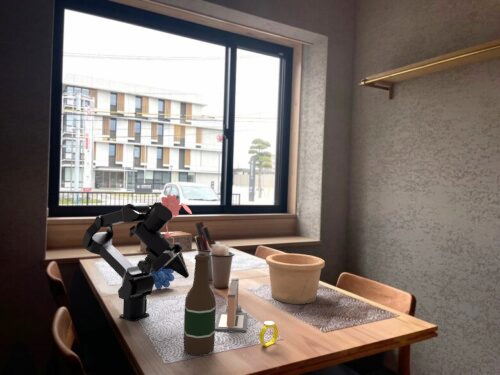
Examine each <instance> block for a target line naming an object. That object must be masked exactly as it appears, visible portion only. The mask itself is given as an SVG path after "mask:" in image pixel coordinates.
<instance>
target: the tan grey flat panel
mask: <svg viewBox="0 0 500 375" xmlns="http://www.w3.org/2000/svg"><path fill="white" fill-rule="evenodd" d="M229 284H230V285H229V288H228V292H227V305H226V307H227V311H226V312H227V326H234V322H235V316H236V310H237V307H238V305H239V278H237V277H233V278H231V280H230V283H229Z"/></svg>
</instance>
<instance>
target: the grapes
mask: <svg viewBox="0 0 500 375" xmlns="http://www.w3.org/2000/svg"><path fill="white" fill-rule="evenodd" d="M164 267H165V265H164V266H163V267H161V268H160V269H159V270H158V271H157V272H156V273H155V272H154V271H153V272H151V274H152V276H153V278H154V288H156V289H157V290H161V289H163V287H164V288H166V289H167V288H169V287H170V286H171V283H172V282H173V281H175V275H174V274H173V273H174V272H175V271H173V270H171V269H163V268H164ZM170 282H171V283H170Z"/></svg>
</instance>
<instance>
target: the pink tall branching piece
mask: <svg viewBox="0 0 500 375" xmlns="http://www.w3.org/2000/svg"><path fill="white" fill-rule="evenodd" d="M166 196H167V197H166ZM166 196H161V198H160V199H161V203H162V205H164V206H166V207H167V208H168V209H169V210H171V212H172V219H175V218H176V217H178V216H179V214H180V213H179V211H181V208H182V207H183V209H184V210H185V212H187V213H188V214H190V215H193V213H192V210H191V209H190V208H189V206H188V205H186V204H185V203H183V202H181V199H179V198H178V199H177V195H176V194H174V193H173V195H171V194H167V195H166ZM180 203H181V204H180ZM172 219H171V220H172ZM165 227H166V231H165V232H166V233H165V237H166V238H168V237H169V236H170V233H168V232H169V228H168V223H167V224H166V225H165ZM170 237H171V236H170ZM171 238H172V237H171ZM172 239H173V238H172ZM173 244H174V239H173Z"/></svg>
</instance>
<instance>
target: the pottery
mask: <svg viewBox="0 0 500 375" xmlns="http://www.w3.org/2000/svg"><path fill="white" fill-rule="evenodd" d="M265 263H266V265H268V271H269V272H268V273H269V281H270V282H269V283H270V291H271V292H270V293H271V297H272V298H273V299H274V300H275V301H278V302H280V303H285V304H289V303H290V304H291V305H307V304H311V303H313V302H315V301H316V299H317V293H318V290H319V283H320V279H321V278H320V277H321V272H322V269H324V267H325V266H326V261H325V260H324V259H322V258H321V257H318V256H315V255H311V254H309V255H308V254H304V253H303V254H302V253H274V254H270V255H267V256H266V258H265ZM306 303H307V304H306Z"/></svg>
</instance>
